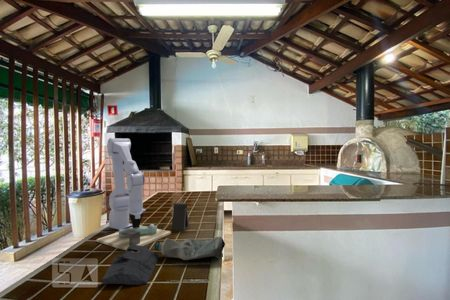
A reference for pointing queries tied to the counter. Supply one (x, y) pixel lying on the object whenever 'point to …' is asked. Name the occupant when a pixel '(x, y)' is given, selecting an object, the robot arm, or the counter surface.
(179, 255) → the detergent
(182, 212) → the phone stand
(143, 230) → the link
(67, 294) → the counter surface
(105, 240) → the keeper board
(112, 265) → the dark grey cloth
